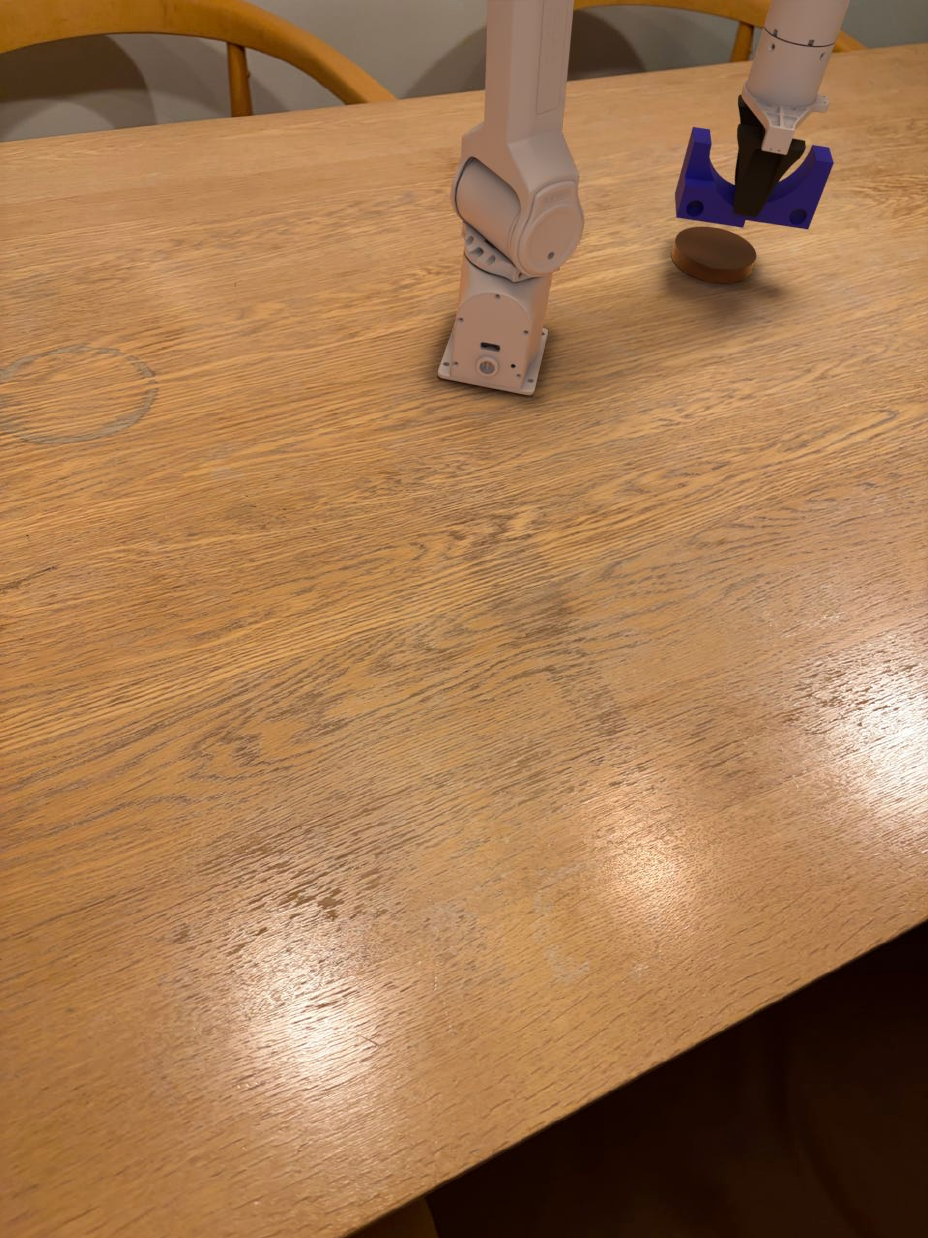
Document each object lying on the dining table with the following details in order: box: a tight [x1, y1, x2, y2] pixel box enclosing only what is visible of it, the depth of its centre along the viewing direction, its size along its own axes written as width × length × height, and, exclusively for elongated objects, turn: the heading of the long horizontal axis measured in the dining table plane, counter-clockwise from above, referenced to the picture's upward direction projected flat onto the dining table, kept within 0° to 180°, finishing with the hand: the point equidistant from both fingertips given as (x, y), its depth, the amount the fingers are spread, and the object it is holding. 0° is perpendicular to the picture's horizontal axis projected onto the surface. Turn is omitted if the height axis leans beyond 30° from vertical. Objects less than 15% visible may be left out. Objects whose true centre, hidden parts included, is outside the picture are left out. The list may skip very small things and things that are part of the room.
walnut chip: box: [670, 225, 757, 284], centre depth 97 cm, size 8×8×2 cm
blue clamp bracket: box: [674, 126, 835, 230], centre depth 87 cm, size 12×4×6 cm, turn 84°
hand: (745, 200), depth 88 cm, fingers closed on blue clamp bracket, 5 cm apart
